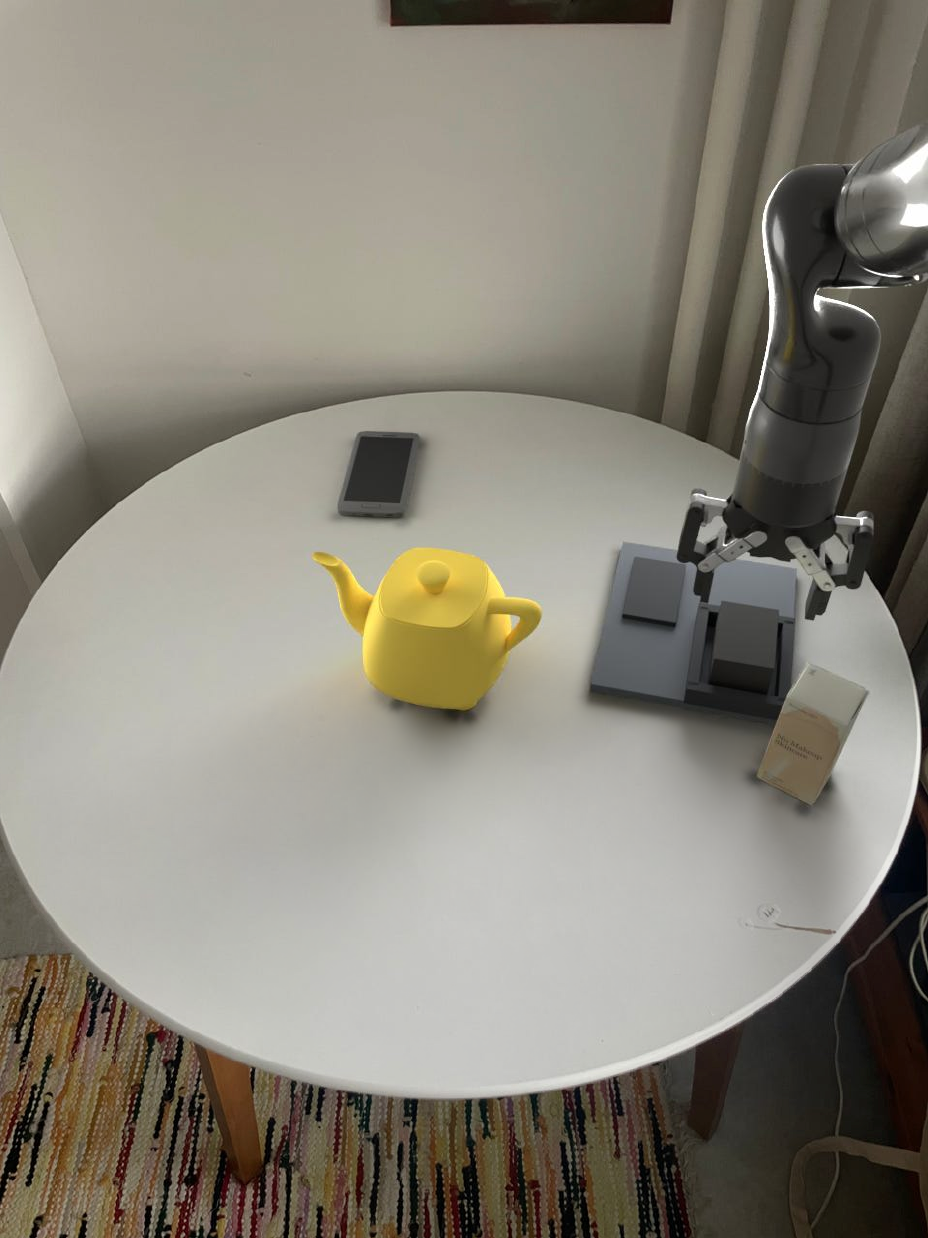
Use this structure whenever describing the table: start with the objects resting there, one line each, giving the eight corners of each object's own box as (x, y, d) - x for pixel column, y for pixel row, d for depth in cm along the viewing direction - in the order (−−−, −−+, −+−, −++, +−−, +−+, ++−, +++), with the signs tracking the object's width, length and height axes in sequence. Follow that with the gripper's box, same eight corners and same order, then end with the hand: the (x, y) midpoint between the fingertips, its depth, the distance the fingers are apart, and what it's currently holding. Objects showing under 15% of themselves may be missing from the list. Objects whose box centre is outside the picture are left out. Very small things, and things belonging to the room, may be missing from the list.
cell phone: (336, 515, 108) (335, 510, 108) (357, 435, 118) (357, 429, 117) (405, 518, 108) (404, 513, 107) (421, 437, 117) (420, 432, 117)
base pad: (794, 575, 101) (801, 553, 98) (784, 729, 88) (792, 708, 86) (622, 548, 104) (624, 526, 102) (588, 693, 91) (591, 671, 89)
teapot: (352, 597, 100) (337, 499, 91) (553, 631, 96) (558, 534, 87) (303, 702, 92) (281, 606, 82) (522, 745, 88) (524, 649, 79)
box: (754, 777, 85) (781, 693, 77) (776, 742, 87) (804, 657, 79) (815, 809, 83) (849, 726, 75) (836, 772, 85) (871, 687, 77)
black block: (769, 643, 93) (779, 609, 90) (764, 702, 89) (775, 669, 86) (713, 634, 94) (721, 600, 91) (706, 692, 90) (714, 658, 87)
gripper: (691, 465, 73) (665, 622, 85) (902, 494, 70) (845, 652, 82) (702, 405, 78) (676, 561, 89) (899, 429, 75) (846, 587, 87)
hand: (756, 604), depth 86 cm, fingers open, 8 cm apart
